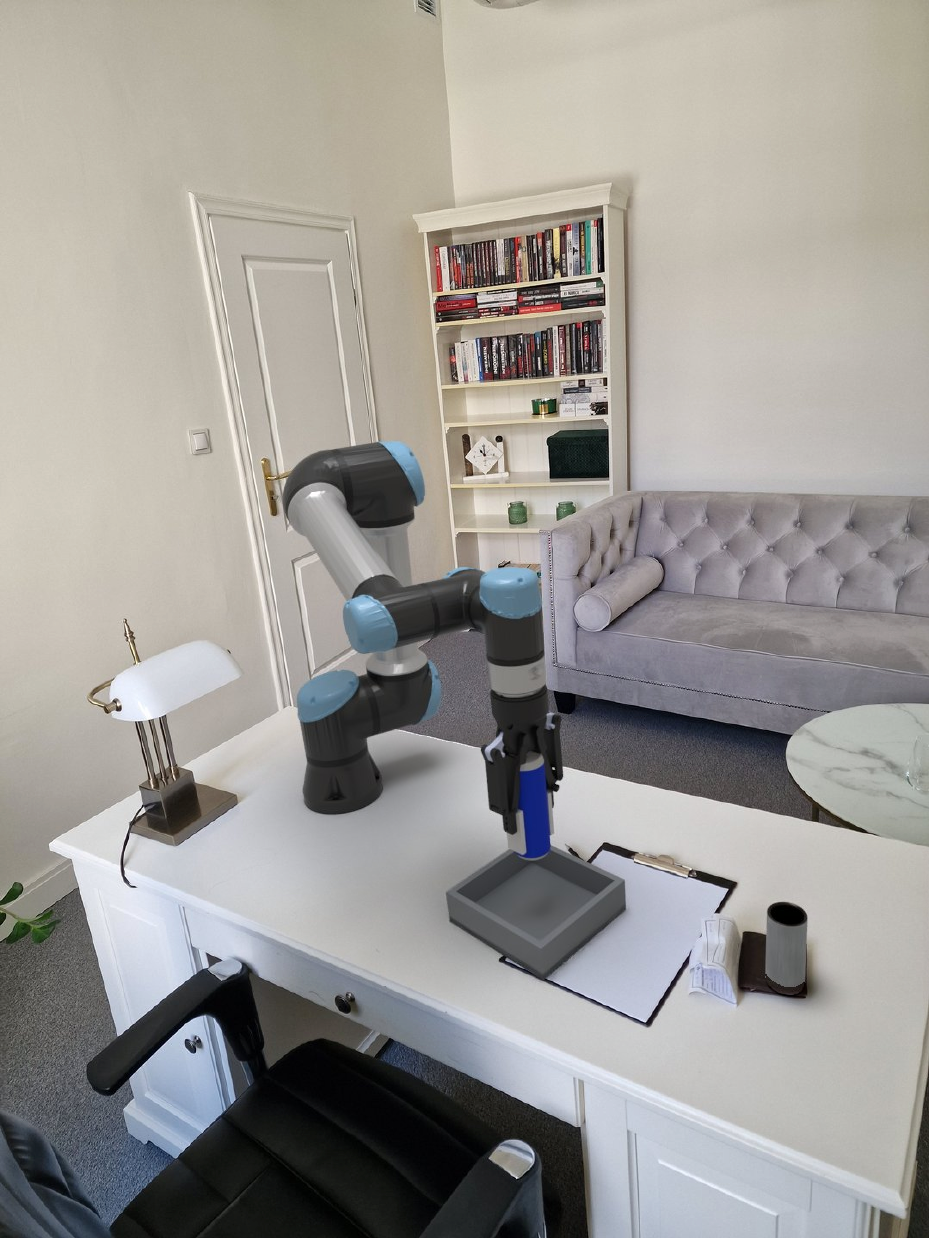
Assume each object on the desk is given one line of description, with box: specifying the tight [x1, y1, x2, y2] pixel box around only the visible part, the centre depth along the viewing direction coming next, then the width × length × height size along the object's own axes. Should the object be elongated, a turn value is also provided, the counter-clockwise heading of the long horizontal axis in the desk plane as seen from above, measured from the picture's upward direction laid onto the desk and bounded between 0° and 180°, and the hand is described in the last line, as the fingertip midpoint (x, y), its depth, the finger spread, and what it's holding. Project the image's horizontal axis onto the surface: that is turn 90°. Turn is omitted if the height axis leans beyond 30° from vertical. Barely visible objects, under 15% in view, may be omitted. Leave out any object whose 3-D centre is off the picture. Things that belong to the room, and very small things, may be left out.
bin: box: [445, 844, 627, 981], centre depth 115 cm, size 18×18×5 cm
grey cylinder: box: [765, 901, 809, 987], centre depth 98 cm, size 4×4×10 cm
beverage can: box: [515, 751, 552, 860], centre depth 110 cm, size 5×5×15 cm
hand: (531, 840), depth 112 cm, fingers closed on beverage can, 5 cm apart
